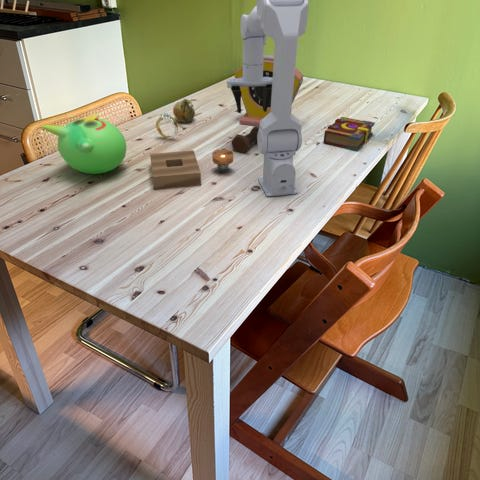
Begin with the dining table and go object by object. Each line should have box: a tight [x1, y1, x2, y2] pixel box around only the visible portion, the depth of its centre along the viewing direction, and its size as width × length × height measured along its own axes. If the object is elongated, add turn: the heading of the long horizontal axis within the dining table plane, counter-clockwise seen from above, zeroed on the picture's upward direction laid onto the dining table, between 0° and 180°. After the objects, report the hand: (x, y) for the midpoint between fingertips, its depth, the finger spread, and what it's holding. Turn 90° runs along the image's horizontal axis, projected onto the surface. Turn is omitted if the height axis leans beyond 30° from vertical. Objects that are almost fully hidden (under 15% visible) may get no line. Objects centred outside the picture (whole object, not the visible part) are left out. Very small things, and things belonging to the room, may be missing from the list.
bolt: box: [231, 126, 259, 155], centre depth 134 cm, size 6×5×15 cm
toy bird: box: [41, 113, 127, 175], centre depth 116 cm, size 18×17×15 cm
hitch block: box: [149, 149, 202, 190], centre depth 117 cm, size 14×12×4 cm
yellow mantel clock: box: [233, 54, 304, 127], centre depth 144 cm, size 22×9×22 cm, turn 71°
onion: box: [172, 98, 196, 123], centre depth 149 cm, size 8×8×8 cm
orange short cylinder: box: [211, 148, 234, 174], centre depth 119 cm, size 6×6×5 cm
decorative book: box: [322, 116, 375, 152], centre depth 138 cm, size 11×16×5 cm
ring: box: [155, 113, 179, 141], centre depth 136 cm, size 7×3×8 cm, turn 66°
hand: (251, 111), depth 130 cm, fingers open, 7 cm apart
